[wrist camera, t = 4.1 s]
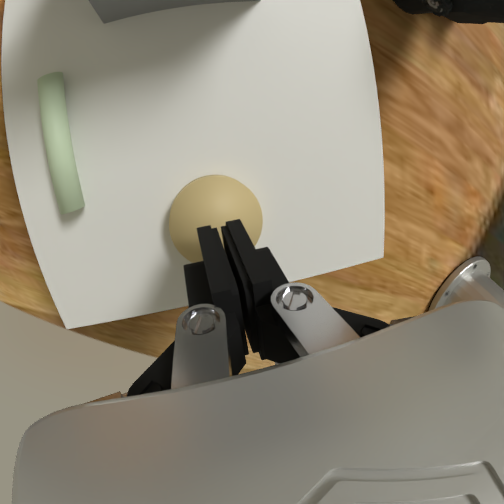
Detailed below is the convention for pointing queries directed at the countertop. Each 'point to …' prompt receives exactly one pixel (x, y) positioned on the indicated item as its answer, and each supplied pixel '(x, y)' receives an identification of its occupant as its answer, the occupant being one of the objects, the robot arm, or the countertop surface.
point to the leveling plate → (188, 141)
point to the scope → (457, 9)
